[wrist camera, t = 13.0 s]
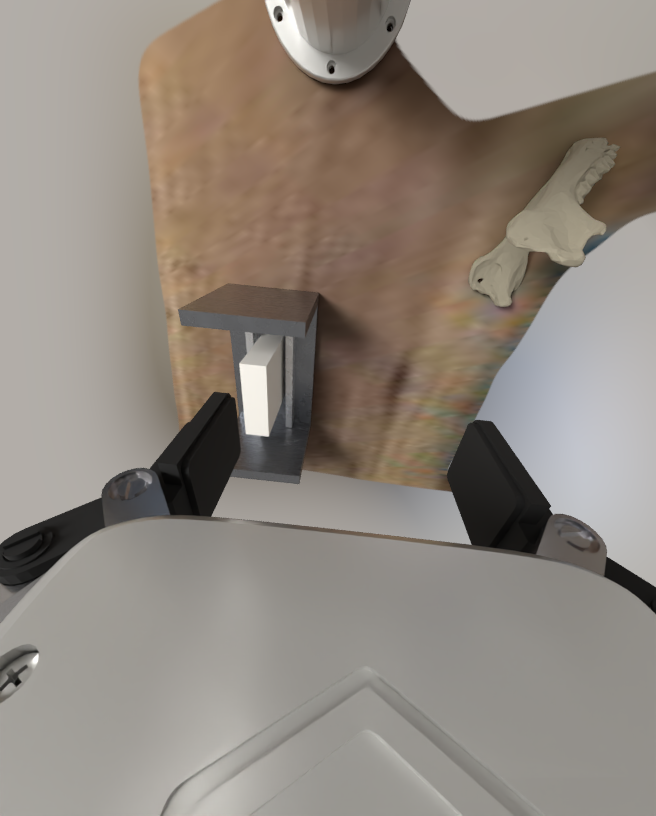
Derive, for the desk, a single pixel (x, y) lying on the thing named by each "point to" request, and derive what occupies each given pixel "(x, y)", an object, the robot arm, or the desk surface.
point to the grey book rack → (297, 322)
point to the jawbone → (548, 222)
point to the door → (262, 383)
